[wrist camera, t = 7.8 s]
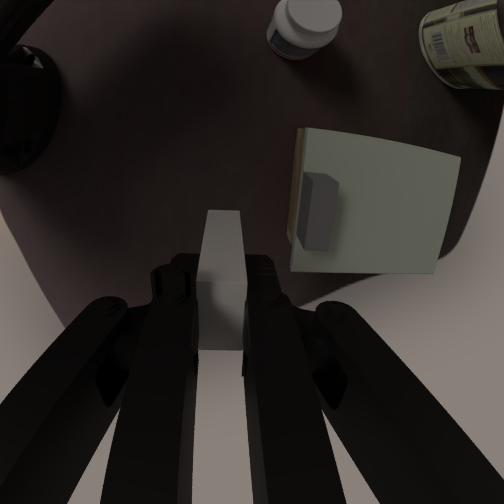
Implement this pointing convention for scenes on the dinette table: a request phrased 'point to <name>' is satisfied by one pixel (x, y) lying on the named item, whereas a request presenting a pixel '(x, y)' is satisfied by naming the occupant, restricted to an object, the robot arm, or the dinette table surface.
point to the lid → (371, 205)
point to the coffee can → (466, 44)
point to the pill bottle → (303, 27)
